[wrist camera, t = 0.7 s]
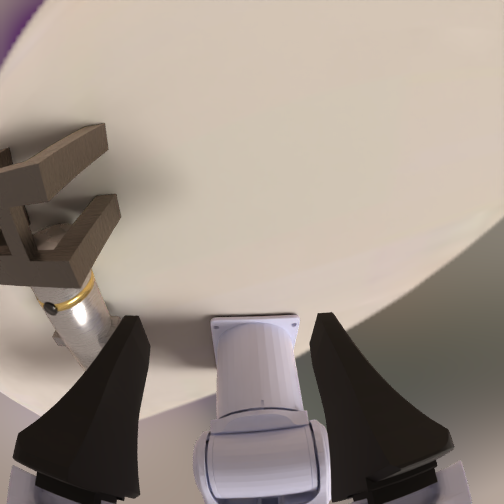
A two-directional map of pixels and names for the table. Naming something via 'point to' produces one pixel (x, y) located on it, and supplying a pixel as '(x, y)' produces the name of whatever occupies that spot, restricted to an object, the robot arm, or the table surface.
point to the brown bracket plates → (43, 190)
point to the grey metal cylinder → (75, 308)
